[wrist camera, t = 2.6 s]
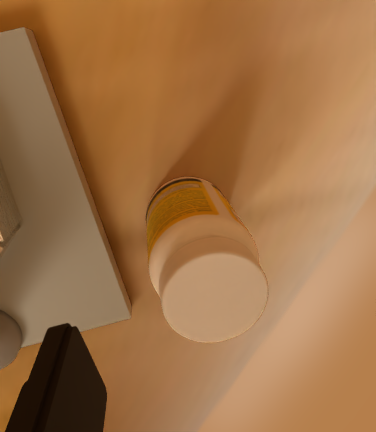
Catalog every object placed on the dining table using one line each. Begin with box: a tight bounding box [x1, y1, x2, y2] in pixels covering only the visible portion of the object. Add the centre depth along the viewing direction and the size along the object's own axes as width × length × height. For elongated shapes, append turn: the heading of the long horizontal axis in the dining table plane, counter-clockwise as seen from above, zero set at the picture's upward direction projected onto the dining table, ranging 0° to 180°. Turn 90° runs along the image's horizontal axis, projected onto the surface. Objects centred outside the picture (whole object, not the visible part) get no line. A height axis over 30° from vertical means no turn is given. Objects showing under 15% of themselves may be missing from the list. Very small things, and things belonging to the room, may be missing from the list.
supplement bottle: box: [146, 177, 268, 343], centre depth 16 cm, size 5×5×8 cm
